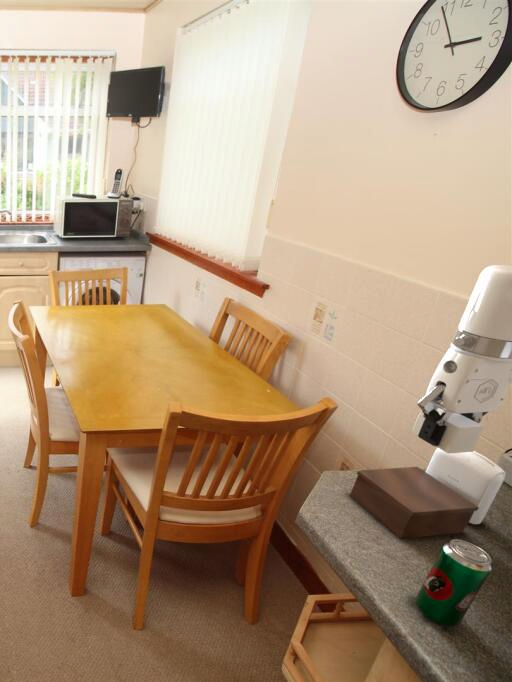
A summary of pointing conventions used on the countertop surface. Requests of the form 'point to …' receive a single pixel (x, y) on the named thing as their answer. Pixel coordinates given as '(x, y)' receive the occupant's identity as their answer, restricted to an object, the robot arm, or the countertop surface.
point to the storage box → (412, 502)
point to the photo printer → (468, 478)
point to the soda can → (453, 582)
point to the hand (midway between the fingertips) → (442, 439)
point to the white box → (455, 433)
